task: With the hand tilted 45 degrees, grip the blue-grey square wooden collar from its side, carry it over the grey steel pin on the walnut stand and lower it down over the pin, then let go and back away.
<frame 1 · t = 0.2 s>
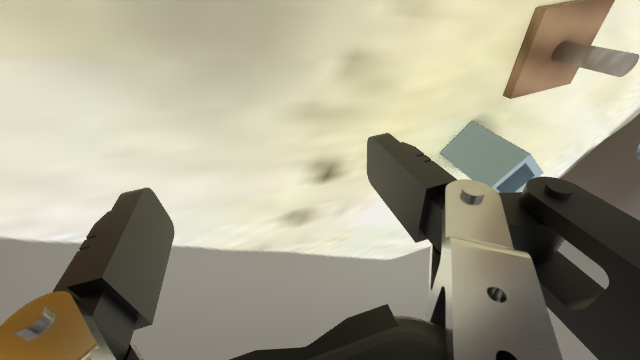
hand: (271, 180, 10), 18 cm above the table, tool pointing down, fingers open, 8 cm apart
pin stand: (550, 49, 32), on the table
collar: (464, 146, 38), on the table
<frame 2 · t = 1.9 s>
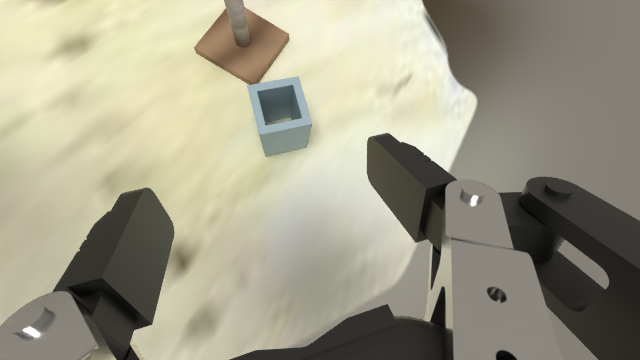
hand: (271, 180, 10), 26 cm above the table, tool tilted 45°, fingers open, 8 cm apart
pin stand: (244, 46, 39), on the table
collar: (281, 132, 37), on the table
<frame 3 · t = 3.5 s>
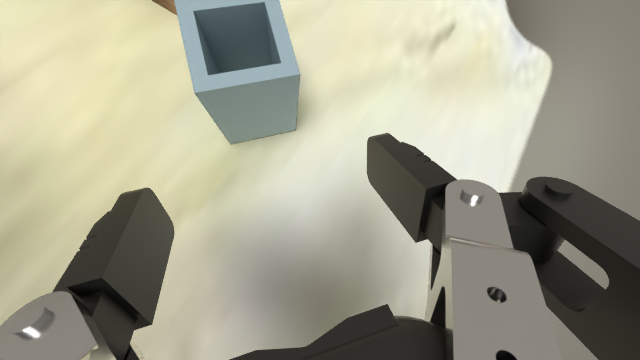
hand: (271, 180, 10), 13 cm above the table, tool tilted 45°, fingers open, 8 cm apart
collar: (256, 107, 24), on the table
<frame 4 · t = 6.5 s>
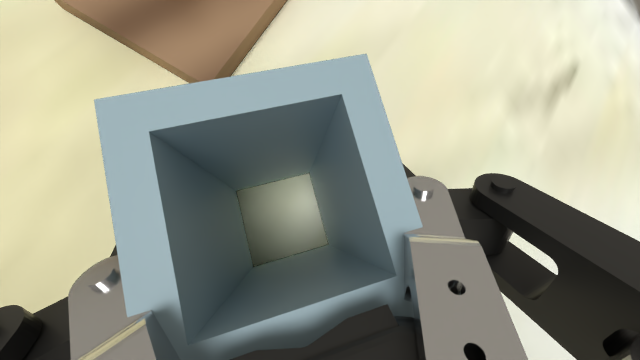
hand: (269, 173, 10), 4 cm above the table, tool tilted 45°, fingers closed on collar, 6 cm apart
collar: (282, 217, 14), on the table, touching gripper
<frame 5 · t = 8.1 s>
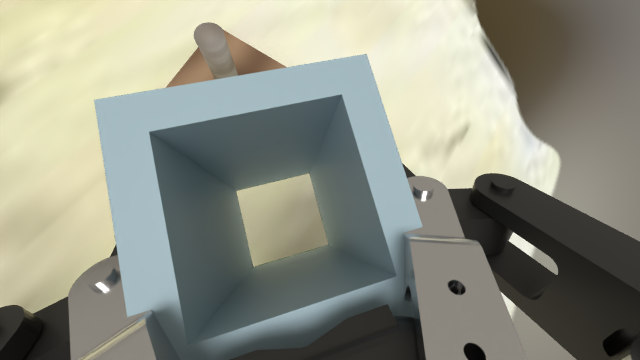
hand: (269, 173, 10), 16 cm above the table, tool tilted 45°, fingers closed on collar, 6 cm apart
pin stand: (232, 91, 27), on the table
collar: (282, 217, 14), point 12 cm above the table, touching gripper
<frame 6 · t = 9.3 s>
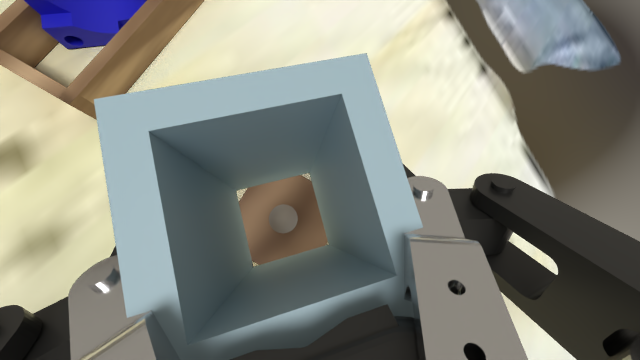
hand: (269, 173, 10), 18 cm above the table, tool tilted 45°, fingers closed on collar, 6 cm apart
pin stand: (284, 220, 27), on the table
cable clip: (126, 26, 29), on the table, touching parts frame
collar: (282, 217, 14), point 14 cm above the table, touching gripper
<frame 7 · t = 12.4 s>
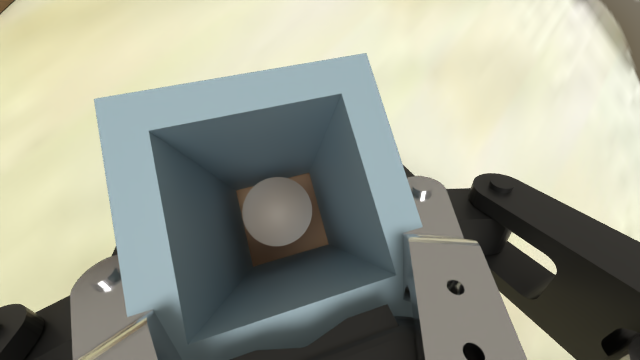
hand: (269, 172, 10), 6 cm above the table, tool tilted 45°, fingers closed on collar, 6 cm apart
pin stand: (282, 217, 16), on the table
collar: (282, 217, 14), point 2 cm above the table, touching gripper
when the fingers open (6 cm above the table, at t = 12.5 s): collar stays where it is, resting on pin stand.
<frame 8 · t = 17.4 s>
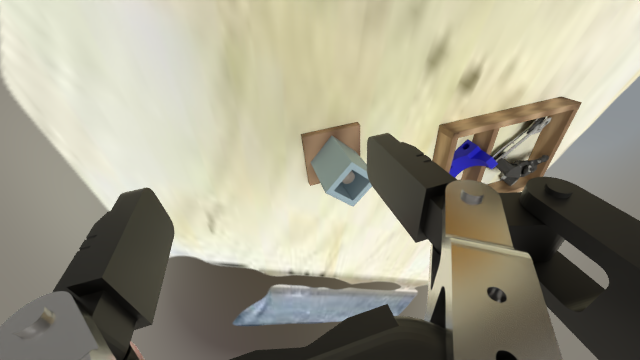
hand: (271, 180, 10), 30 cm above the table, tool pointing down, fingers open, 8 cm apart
pin stand: (331, 153, 46), on the table
bicycle component: (512, 149, 60), on the table
cable clip: (449, 164, 57), on the table, touching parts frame
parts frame: (484, 156, 58), on the table
collar: (333, 157, 45), point 1 cm above the table, touching pin stand
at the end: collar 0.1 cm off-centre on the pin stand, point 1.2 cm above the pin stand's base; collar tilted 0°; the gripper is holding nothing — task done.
